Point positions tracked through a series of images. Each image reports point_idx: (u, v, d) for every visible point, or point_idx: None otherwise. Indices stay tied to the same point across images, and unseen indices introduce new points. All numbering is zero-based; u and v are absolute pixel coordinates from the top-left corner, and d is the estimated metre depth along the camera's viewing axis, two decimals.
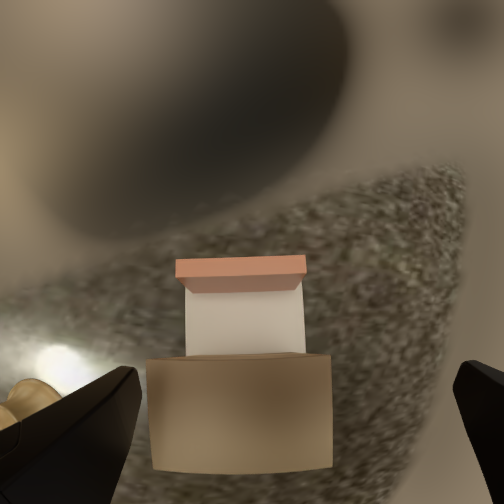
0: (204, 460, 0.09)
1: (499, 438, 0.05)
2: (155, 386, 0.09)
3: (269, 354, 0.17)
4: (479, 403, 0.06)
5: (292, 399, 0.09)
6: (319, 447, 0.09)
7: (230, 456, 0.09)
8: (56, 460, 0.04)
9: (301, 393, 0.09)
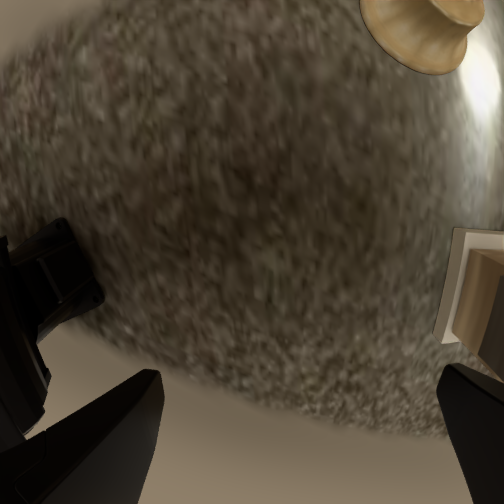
0: None
1: (483, 444, 0.05)
2: None
3: None
4: (462, 408, 0.06)
5: None
6: None
7: None
8: (87, 471, 0.04)
9: None
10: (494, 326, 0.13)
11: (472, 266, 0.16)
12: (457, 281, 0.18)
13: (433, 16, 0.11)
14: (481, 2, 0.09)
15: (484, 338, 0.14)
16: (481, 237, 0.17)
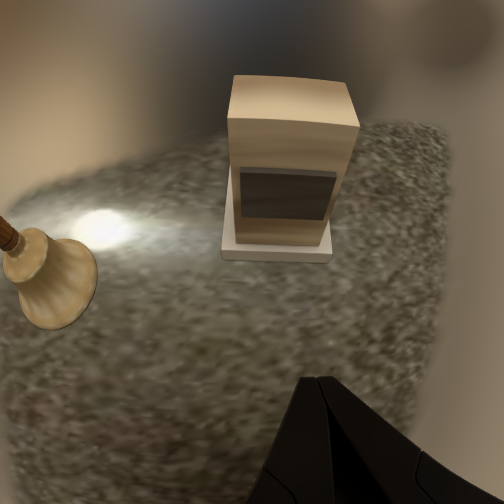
0: (268, 112, 0.13)
1: (341, 479, 0.05)
2: (239, 83, 0.15)
3: None
4: None
5: (325, 93, 0.14)
6: (347, 114, 0.14)
7: (287, 110, 0.13)
8: None
9: (330, 92, 0.14)
10: (288, 212, 0.19)
11: (249, 239, 0.22)
12: (267, 251, 0.23)
13: (43, 277, 0.19)
14: (30, 230, 0.19)
15: (304, 218, 0.19)
16: (226, 231, 0.24)
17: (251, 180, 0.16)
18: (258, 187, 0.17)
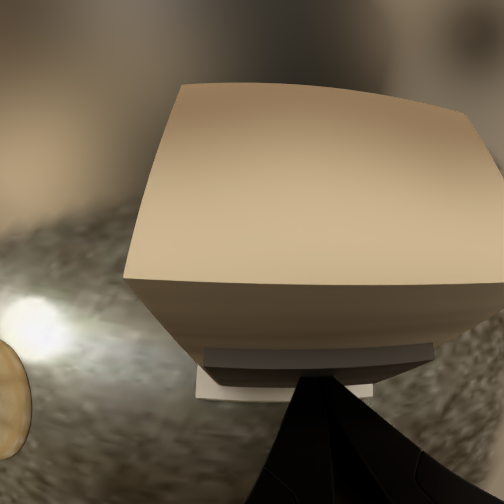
0: (285, 241, 0.04)
1: (341, 479, 0.05)
2: (189, 109, 0.05)
3: None
4: None
5: (441, 145, 0.05)
6: None
7: (356, 230, 0.04)
8: None
9: (451, 142, 0.05)
10: None
11: None
12: (271, 400, 0.13)
13: None
14: None
15: None
16: None
17: (234, 372, 0.06)
18: (252, 375, 0.07)
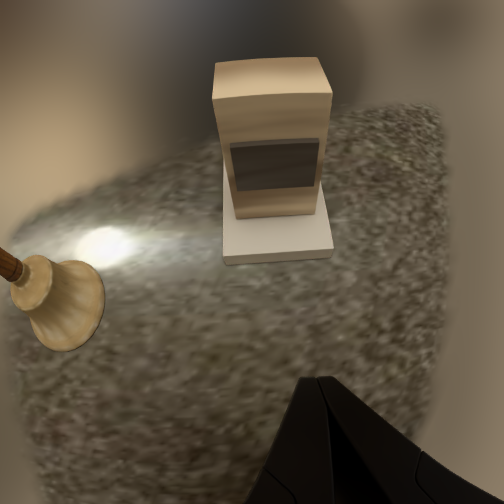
0: (248, 89, 0.15)
1: (341, 479, 0.05)
2: (220, 69, 0.16)
3: None
4: None
5: (299, 67, 0.15)
6: (320, 84, 0.15)
7: (265, 86, 0.15)
8: None
9: (304, 66, 0.15)
10: (280, 181, 0.20)
11: (248, 213, 0.24)
12: (269, 252, 0.23)
13: (51, 302, 0.19)
14: (33, 258, 0.19)
15: (295, 186, 0.20)
16: (226, 237, 0.24)
17: (241, 154, 0.17)
18: (248, 160, 0.18)
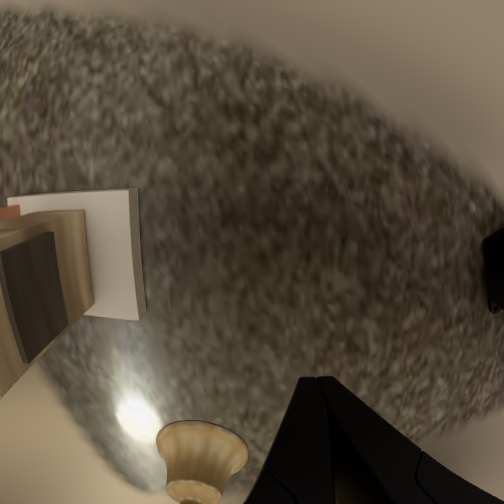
0: None
1: (341, 478, 0.05)
2: None
3: None
4: None
5: None
6: None
7: None
8: None
9: None
10: (52, 279, 0.13)
11: (88, 292, 0.17)
12: (132, 270, 0.18)
13: (209, 476, 0.19)
14: (170, 494, 0.19)
15: (55, 256, 0.13)
16: (116, 314, 0.19)
17: (32, 346, 0.11)
18: (36, 333, 0.11)
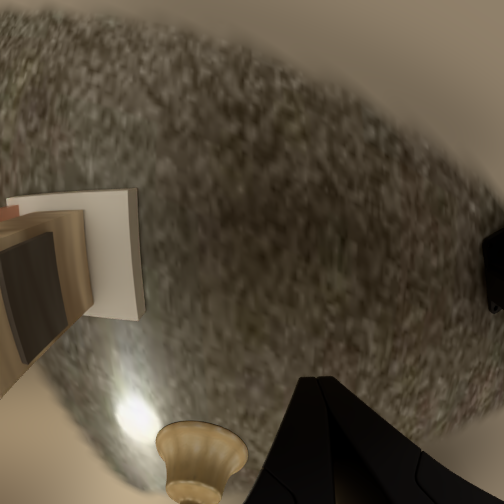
0: None
1: (341, 478, 0.05)
2: None
3: None
4: None
5: None
6: None
7: None
8: None
9: None
10: (51, 280, 0.13)
11: (87, 293, 0.17)
12: (132, 270, 0.18)
13: (209, 477, 0.19)
14: (170, 494, 0.18)
15: (54, 256, 0.13)
16: (116, 315, 0.19)
17: (31, 347, 0.11)
18: (35, 334, 0.11)
